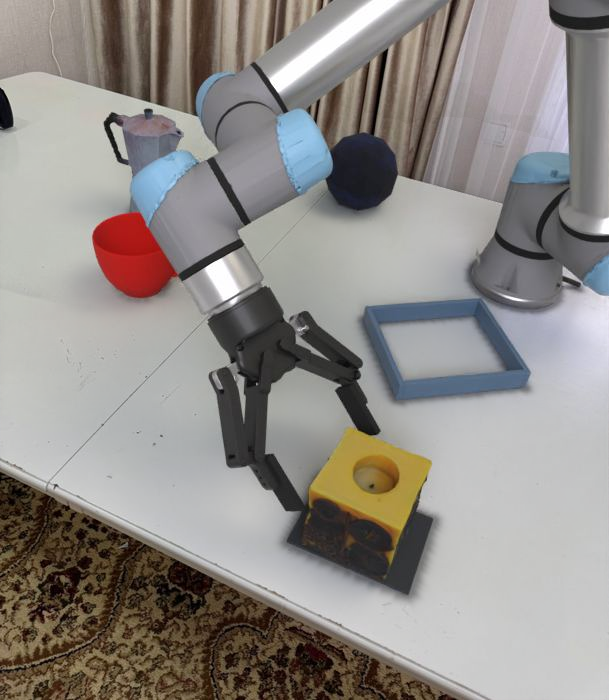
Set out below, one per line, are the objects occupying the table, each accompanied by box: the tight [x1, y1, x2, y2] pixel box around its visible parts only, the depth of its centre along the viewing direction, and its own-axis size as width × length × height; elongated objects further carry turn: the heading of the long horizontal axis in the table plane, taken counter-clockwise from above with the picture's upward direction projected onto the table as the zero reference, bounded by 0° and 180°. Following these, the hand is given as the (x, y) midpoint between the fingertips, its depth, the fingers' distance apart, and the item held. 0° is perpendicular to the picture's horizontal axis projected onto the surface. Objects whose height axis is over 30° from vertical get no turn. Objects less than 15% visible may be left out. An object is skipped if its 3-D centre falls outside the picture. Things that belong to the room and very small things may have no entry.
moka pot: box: [102, 107, 185, 213], centre depth 113 cm, size 10×15×20 cm, turn 78°
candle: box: [300, 426, 433, 581], centre depth 67 cm, size 10×10×10 cm
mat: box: [286, 499, 434, 596], centre depth 70 cm, size 14×10×1 cm
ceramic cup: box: [91, 212, 179, 299], centre depth 98 cm, size 13×17×10 cm
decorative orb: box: [324, 131, 399, 211], centre depth 123 cm, size 14×15×15 cm
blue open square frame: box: [362, 297, 532, 401], centre depth 93 cm, size 20×18×3 cm
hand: (336, 469), depth 68 cm, fingers open, 13 cm apart
